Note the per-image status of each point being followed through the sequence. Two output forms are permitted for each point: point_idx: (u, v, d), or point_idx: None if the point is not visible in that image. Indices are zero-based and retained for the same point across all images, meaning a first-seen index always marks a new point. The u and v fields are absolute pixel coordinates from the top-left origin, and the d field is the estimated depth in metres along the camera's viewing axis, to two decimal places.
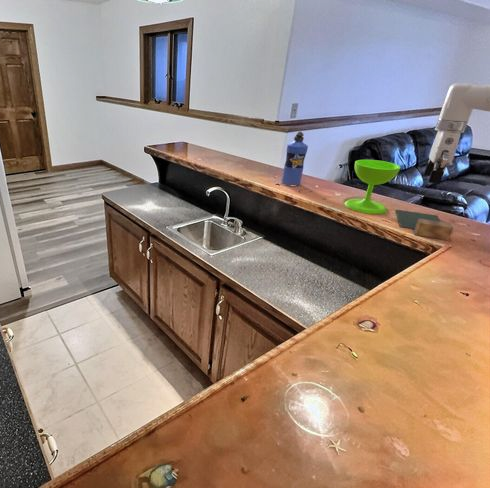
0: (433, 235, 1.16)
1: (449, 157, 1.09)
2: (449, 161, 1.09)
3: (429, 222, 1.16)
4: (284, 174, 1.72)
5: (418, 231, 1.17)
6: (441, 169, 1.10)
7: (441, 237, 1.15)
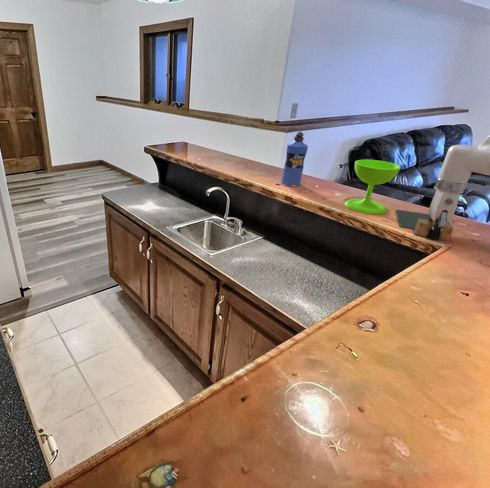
0: None
1: (448, 217, 1.10)
2: (448, 221, 1.10)
3: (429, 222, 1.16)
4: (284, 174, 1.72)
5: (418, 231, 1.17)
6: (438, 229, 1.12)
7: (441, 237, 1.15)
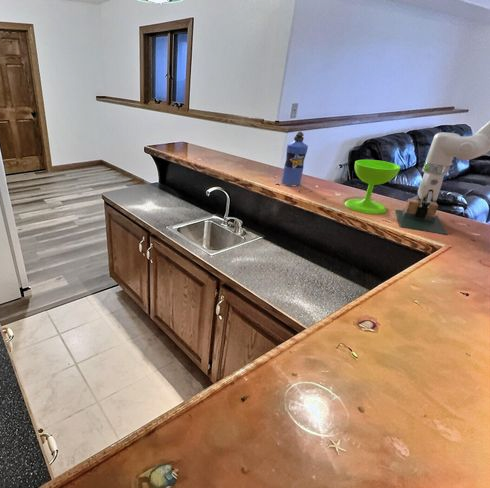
0: None
1: (434, 195, 1.25)
2: (434, 199, 1.26)
3: (417, 201, 1.32)
4: (284, 174, 1.72)
5: (408, 209, 1.33)
6: (425, 207, 1.28)
7: (428, 214, 1.31)
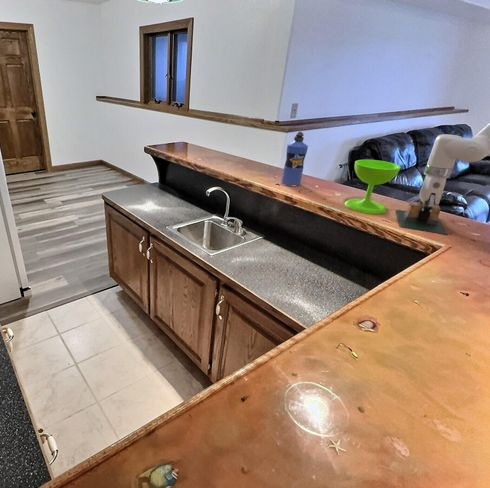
0: None
1: (436, 199, 1.22)
2: (436, 202, 1.23)
3: (419, 205, 1.29)
4: (284, 174, 1.72)
5: (410, 212, 1.30)
6: (428, 210, 1.25)
7: (430, 217, 1.28)
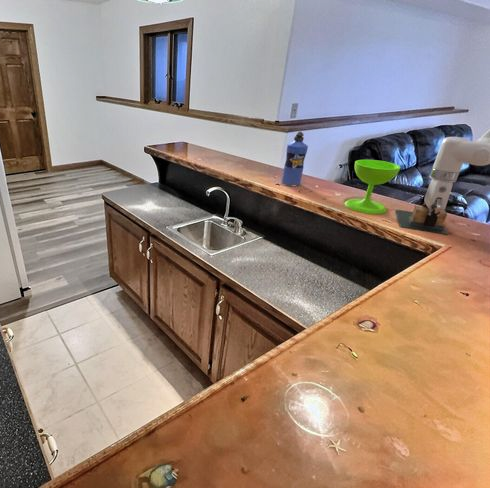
0: None
1: (442, 204, 1.18)
2: (442, 207, 1.18)
3: (425, 209, 1.24)
4: (284, 174, 1.72)
5: (415, 217, 1.26)
6: (435, 214, 1.19)
7: (436, 223, 1.23)
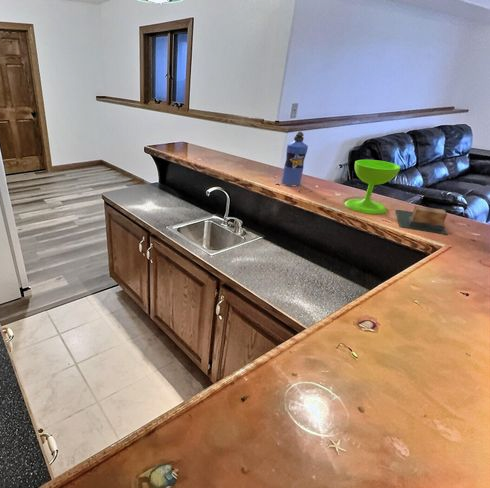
0: (429, 221, 1.24)
1: None
2: None
3: (425, 209, 1.24)
4: (284, 174, 1.72)
5: (415, 217, 1.26)
6: None
7: (436, 223, 1.23)
